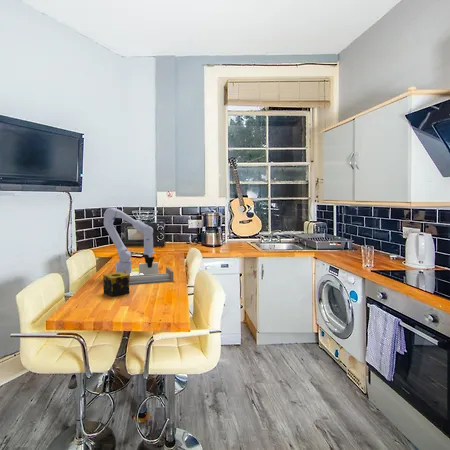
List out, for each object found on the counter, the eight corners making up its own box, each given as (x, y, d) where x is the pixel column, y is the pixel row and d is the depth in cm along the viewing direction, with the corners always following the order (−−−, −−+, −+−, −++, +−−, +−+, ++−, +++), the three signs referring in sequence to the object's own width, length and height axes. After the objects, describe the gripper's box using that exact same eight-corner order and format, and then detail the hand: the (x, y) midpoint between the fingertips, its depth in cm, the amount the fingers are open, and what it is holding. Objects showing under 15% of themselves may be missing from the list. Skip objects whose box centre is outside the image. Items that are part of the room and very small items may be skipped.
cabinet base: (126, 285, 192) (126, 274, 191) (124, 279, 205) (124, 269, 204) (173, 281, 202) (173, 271, 201) (168, 276, 215) (168, 266, 214)
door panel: (139, 276, 213) (139, 264, 212) (138, 275, 215) (138, 263, 214) (158, 275, 217) (158, 262, 217) (157, 274, 219) (157, 262, 218)
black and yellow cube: (120, 289, 184) (120, 271, 183) (130, 293, 176) (130, 274, 176) (102, 293, 177) (102, 274, 176) (111, 297, 169) (111, 278, 168)
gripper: (156, 246, 209) (157, 268, 210) (152, 243, 222) (153, 263, 224) (145, 247, 206) (145, 269, 208) (142, 244, 220) (142, 264, 221)
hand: (148, 266), depth 216 cm, fingers open, 7 cm apart
